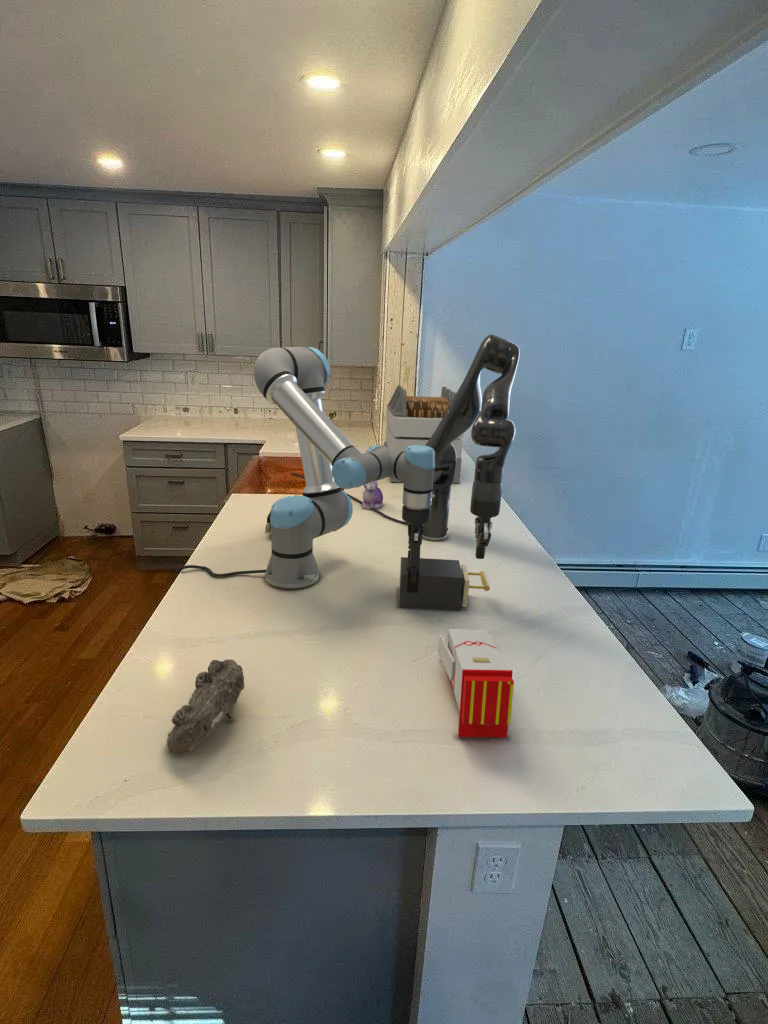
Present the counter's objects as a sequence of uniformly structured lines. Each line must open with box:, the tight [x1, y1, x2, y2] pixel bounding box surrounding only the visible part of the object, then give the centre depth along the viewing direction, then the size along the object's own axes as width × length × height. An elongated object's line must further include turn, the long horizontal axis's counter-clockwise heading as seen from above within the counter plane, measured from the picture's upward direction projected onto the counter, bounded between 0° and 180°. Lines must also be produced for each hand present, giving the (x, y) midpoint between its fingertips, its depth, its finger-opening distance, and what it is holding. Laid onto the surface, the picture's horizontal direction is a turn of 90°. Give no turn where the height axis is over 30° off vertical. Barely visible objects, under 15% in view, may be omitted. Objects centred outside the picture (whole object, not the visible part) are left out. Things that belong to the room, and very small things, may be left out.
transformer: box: [383, 384, 464, 484], centre depth 268 cm, size 34×33×41 cm
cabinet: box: [398, 556, 463, 612], centre depth 154 cm, size 16×11×10 cm
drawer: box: [460, 564, 491, 608], centre depth 154 cm, size 20×10×8 cm, turn 88°
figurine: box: [361, 480, 384, 510], centre depth 224 cm, size 9×10×15 cm
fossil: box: [166, 658, 245, 754], centre depth 106 cm, size 22×10×15 cm
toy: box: [437, 628, 515, 738], centre depth 117 cm, size 12×13×30 cm
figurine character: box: [265, 510, 271, 538], centre depth 195 cm, size 7×8×15 cm
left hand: (412, 581), depth 154 cm, fingers closed on cabinet, 11 cm apart
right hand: (479, 557), depth 151 cm, fingers closed
